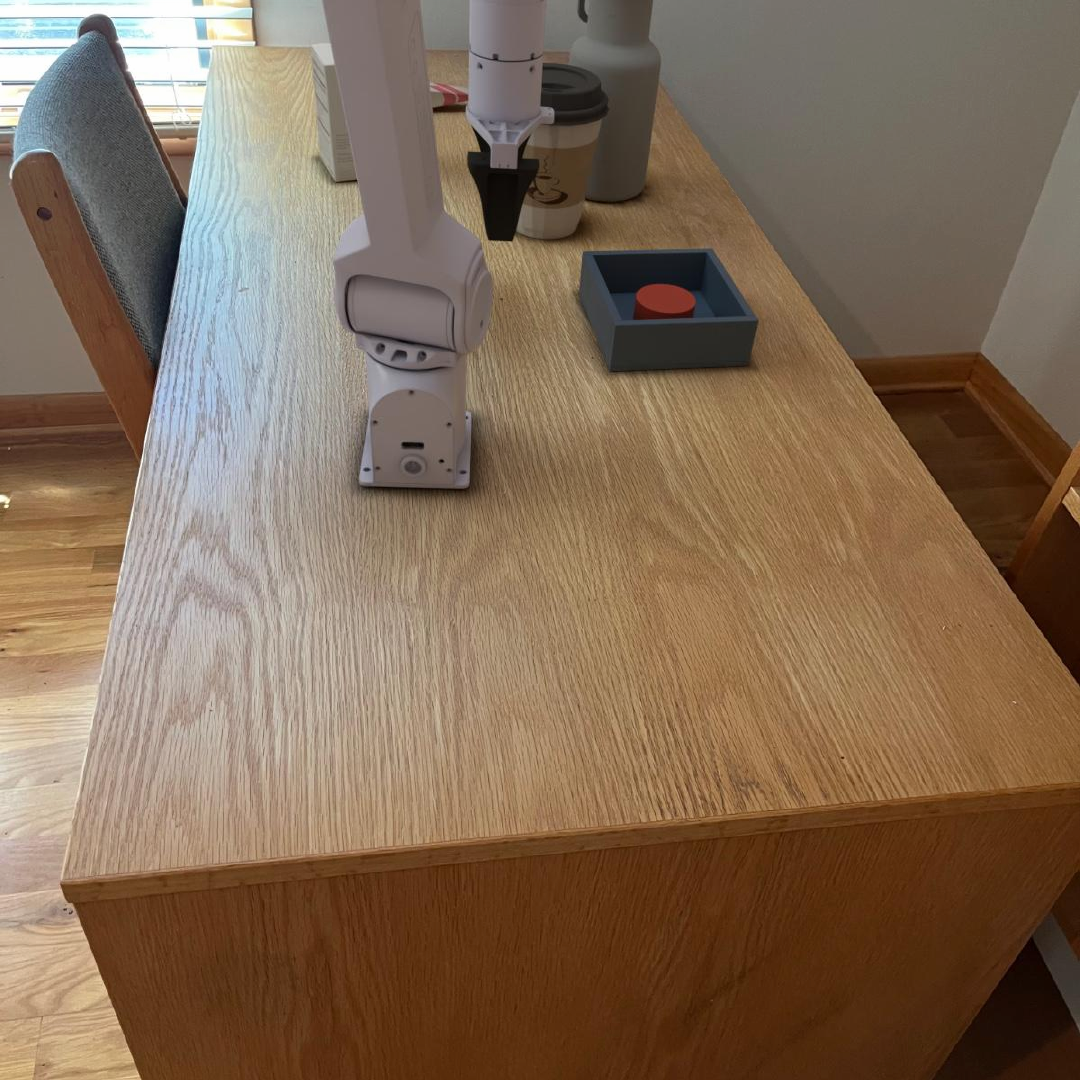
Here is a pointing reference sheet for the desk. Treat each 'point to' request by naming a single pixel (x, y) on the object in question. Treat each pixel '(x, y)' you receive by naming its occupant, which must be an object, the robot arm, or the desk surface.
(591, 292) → the bin
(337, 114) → the white packaging box
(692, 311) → the red cylinder
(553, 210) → the coffee cup
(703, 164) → the desk surface
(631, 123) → the water bottle
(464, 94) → the paintbrush
